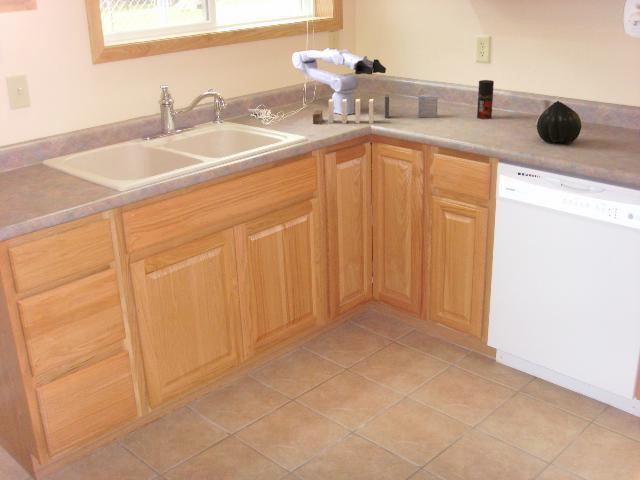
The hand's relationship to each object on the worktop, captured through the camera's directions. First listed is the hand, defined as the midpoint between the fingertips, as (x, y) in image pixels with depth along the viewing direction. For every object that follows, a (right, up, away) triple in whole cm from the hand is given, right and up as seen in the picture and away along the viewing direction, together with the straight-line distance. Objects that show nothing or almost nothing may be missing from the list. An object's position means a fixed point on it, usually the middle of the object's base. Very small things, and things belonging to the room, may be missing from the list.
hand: (378, 71), depth 302 cm
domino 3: (-8, -20, +5) cm, 22 cm away
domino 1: (-19, -20, +6) cm, 28 cm away
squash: (+62, -33, -33) cm, 78 cm away
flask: (+64, -24, -10) cm, 69 cm away
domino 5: (+4, -17, +12) cm, 21 cm away
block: (-25, -20, +7) cm, 32 cm away
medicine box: (+21, -17, +11) cm, 29 cm away
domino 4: (-3, -20, +4) cm, 21 cm away
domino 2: (-14, -20, +5) cm, 25 cm away
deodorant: (+44, -18, +6) cm, 48 cm away
